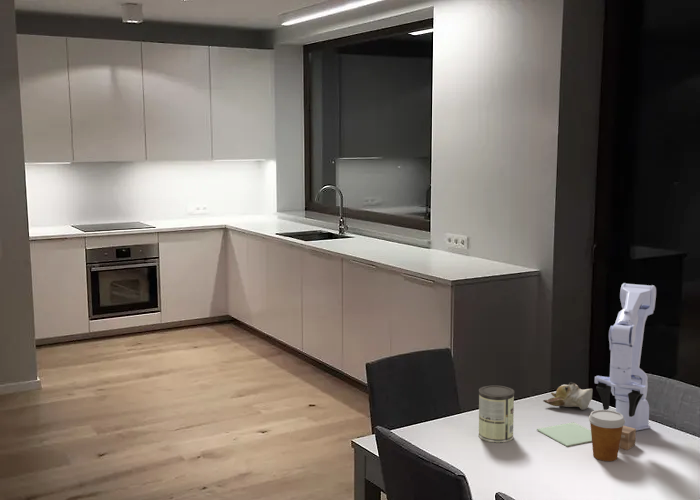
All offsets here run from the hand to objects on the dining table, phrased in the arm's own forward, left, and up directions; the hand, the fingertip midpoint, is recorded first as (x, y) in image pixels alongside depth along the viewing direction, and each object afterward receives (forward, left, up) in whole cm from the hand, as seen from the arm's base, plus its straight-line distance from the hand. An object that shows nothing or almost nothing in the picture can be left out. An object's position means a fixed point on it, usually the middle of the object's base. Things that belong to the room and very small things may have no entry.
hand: (618, 412), depth 218 cm
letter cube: (-1, +1, -10) cm, 10 cm away
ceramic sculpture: (-8, -31, -10) cm, 34 cm away
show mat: (+8, -11, -9) cm, 17 cm away
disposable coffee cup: (+10, +6, -10) cm, 15 cm away
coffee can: (+29, -19, -10) cm, 36 cm away
